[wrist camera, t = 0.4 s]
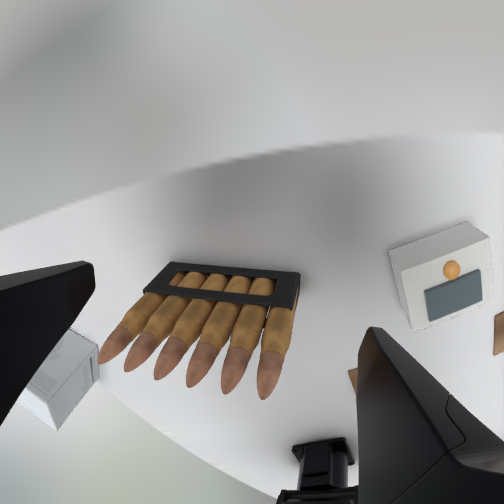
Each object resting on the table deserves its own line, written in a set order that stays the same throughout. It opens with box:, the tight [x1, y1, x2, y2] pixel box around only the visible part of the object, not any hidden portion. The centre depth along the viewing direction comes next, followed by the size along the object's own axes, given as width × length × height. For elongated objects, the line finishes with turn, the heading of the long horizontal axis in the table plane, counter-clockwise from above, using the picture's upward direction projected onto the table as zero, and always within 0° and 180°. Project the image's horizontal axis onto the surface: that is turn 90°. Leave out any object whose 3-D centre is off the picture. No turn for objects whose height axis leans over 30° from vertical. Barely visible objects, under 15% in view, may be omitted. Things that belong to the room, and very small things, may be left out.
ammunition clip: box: [97, 262, 301, 400], centre depth 19 cm, size 11×2×12 cm, turn 90°
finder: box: [388, 222, 494, 332], centre depth 19 cm, size 5×7×4 cm
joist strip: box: [348, 312, 504, 394], centre depth 22 cm, size 5×25×1 cm, turn 114°
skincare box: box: [17, 329, 99, 431], centre depth 28 cm, size 10×6×10 cm, turn 73°
